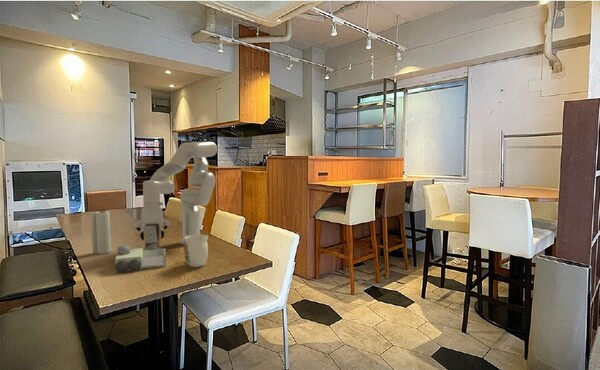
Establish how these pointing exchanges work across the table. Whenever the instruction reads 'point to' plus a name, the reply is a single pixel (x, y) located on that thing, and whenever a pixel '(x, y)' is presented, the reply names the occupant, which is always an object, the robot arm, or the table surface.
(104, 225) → the grey tall block
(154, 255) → the grey open drawer
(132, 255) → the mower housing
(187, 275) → the table surface
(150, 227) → the coffee box
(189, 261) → the pitcher
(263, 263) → the table surface
